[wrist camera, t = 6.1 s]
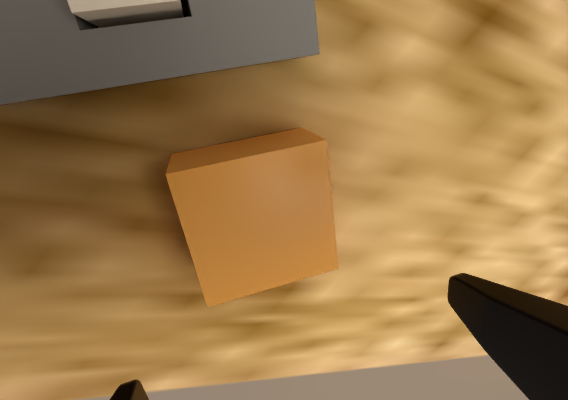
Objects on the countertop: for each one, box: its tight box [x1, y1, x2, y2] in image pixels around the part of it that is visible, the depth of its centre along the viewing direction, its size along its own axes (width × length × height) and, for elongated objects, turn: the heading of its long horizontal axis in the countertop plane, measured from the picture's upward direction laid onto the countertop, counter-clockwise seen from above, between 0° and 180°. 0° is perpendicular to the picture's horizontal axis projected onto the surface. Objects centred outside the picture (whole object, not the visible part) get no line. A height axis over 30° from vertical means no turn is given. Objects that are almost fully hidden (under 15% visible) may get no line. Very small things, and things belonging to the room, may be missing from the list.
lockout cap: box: [165, 128, 338, 307], centre depth 16 cm, size 7×7×4 cm
